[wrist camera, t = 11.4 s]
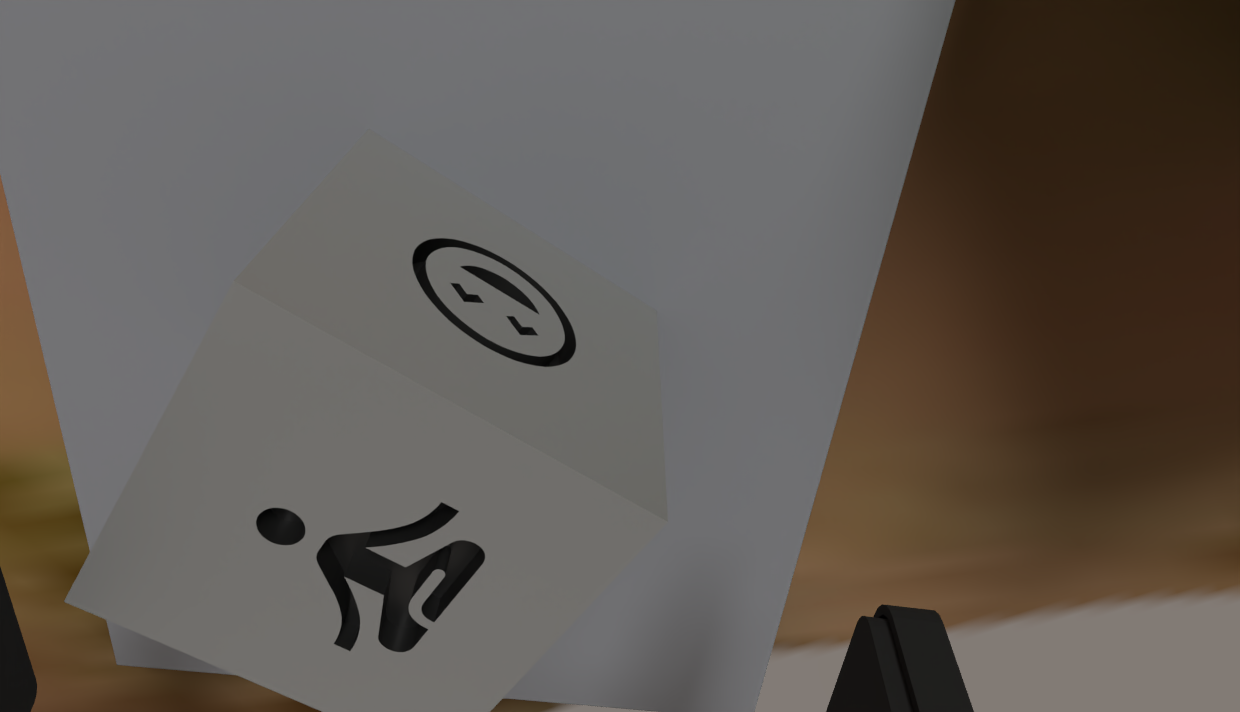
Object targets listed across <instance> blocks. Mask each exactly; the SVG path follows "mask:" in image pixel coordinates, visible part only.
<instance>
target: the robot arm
mask: <svg viewBox="0 0 1240 712" xmlns="http://www.w3.org/2000/svg"><path fill="white" fill-rule="evenodd" d="M36 693H37V683H36V678H35V675H34V672H33V669H32V665H31V662H30V659H29V656H28V653H27V650H26V646H25V643H24V640H23V637H22V634H21V631H20V628H19V624H18V621H17V618H16V615H15V612H14V609H13V605H12V602H11V599H10V596H9V593H8V590H7V587H6V583H5V580H4V577H3V574H2V571H1V568H0V712H31V709H32V707H33V704H34V701H35V698H36ZM826 712H974V711H973V708H972V705H971V702H970V699H969V697H968V693H967V691H966V688H965V685H964V682H963V679H962V676H961V673H960V670H959V667H958V665H957V662H956V659H955V656H954V653H953V650H952V647H951V644H950V641H949V639H948V636H947V633H946V630H945V627H944V624H943V622H942V620H941V618H940V615H939V614H938V613H937V612H936V611H934V610H925V609H917V608H908V607H899V606H891V605H881V606H880V607H878V609H877V611H876V613H875V615H874V617H866V616H862V617H861V618H859V620H858V622H857V625H856V628H855V630H854V633H853V636H852V639H851V642H850V645H849V648H848V651H847V653H846V656H845V659H844V662H843V665H842V668H841V671H840V673H839V676H838V679H837V682H836V685H835V688H834V691H833V694H832V696H831V700H830V702H829V705H828V708H827V711H826Z"/></svg>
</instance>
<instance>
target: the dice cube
mask: <svg viewBox="0 0 1240 712" xmlns="http://www.w3.org/2000/svg"><path fill="white" fill-rule="evenodd" d="M667 522H668V513H667V495H666V476H665V457H664V438H663V420H662V401H661V382H660V364H659V345H658V326H657V311H656V310H654V309H653V308H651V307H650V306H648V305H646V304H645V303H643V302H642V301H640V300H639V299H637V298H635V297H634V296H632V295H631V294H629V293H627V292H626V291H624V290H623V289H621V288H620V287H618V286H616V285H615V284H613V283H612V282H610V281H608V280H607V279H605V278H604V277H602V276H601V275H599V274H597V273H596V272H594V271H593V270H591V269H590V268H588V267H586V266H585V265H583V264H582V263H580V262H578V261H577V260H575V259H574V258H572V257H571V256H569V255H567V254H566V253H564V252H563V251H561V250H559V249H558V248H556V247H555V246H553V245H552V244H550V243H548V242H547V241H545V240H544V239H542V238H541V237H539V236H537V235H536V234H534V233H533V232H531V231H529V230H528V229H526V228H525V227H523V226H522V225H520V224H518V223H517V222H515V221H514V220H512V219H510V218H509V217H507V216H506V215H504V214H503V213H501V212H499V211H498V210H496V209H495V208H493V207H492V206H490V205H488V204H487V203H485V202H484V201H482V200H480V199H479V198H477V197H476V196H474V195H473V194H471V193H469V192H468V191H466V190H465V189H463V188H461V187H460V186H458V185H457V184H455V183H454V182H452V181H450V180H449V179H447V178H446V177H444V176H442V175H441V174H439V173H438V172H436V171H435V170H433V169H431V168H430V167H428V166H427V165H425V164H424V163H422V162H420V161H419V160H417V159H416V158H414V157H412V156H411V155H409V154H408V153H406V152H405V151H403V150H401V149H400V148H398V147H397V146H395V145H393V144H392V143H390V142H389V141H387V140H386V139H384V138H382V137H381V136H379V135H378V134H376V133H375V132H373V131H371V130H370V129H368V130H367V131H366V133H365V134H364V135H363V136H362V137H361V138H360V139H359V140H358V141H357V143H356V144H355V145H354V146H353V147H352V148H351V149H350V150H349V152H348V153H347V154H346V155H345V156H344V157H343V158H342V159H341V161H340V162H339V163H338V164H337V165H336V166H335V167H334V168H333V170H332V171H331V172H330V173H329V174H328V175H327V176H326V177H325V179H324V180H323V181H322V182H321V183H320V184H319V185H318V186H317V188H316V189H315V190H314V191H313V192H312V193H311V194H310V195H309V197H308V198H307V199H306V200H305V201H304V202H303V203H302V204H301V206H300V207H299V208H298V209H297V210H296V211H295V212H294V213H293V215H292V216H291V217H290V218H289V219H288V220H287V221H286V222H285V224H284V225H283V226H282V227H281V228H280V229H279V230H278V231H277V233H276V234H275V235H274V236H273V237H272V238H271V239H270V240H269V242H268V243H267V244H266V245H265V246H264V247H263V248H262V249H261V251H260V252H259V253H258V254H257V255H256V256H255V257H254V258H253V260H252V261H251V262H250V263H249V264H248V265H247V266H246V267H245V269H244V270H243V271H242V272H241V273H240V274H239V275H238V276H237V278H236V279H235V280H234V281H233V283H232V285H231V286H230V288H229V290H228V292H227V294H226V296H225V298H224V300H223V302H222V304H221V305H220V307H219V309H218V311H217V313H216V315H215V317H214V319H213V321H212V322H211V324H210V326H209V328H208V330H207V332H206V334H205V336H204V338H203V339H202V341H201V343H200V345H199V347H198V349H197V351H196V353H195V355H194V357H193V358H192V360H191V362H190V364H189V366H188V368H187V370H186V372H185V374H184V375H183V377H182V379H181V381H180V383H179V385H178V387H177V389H176V391H175V393H174V394H173V396H172V398H171V400H170V402H169V404H168V406H167V408H166V410H165V411H164V413H163V415H162V417H161V419H160V421H159V423H158V425H157V427H156V429H155V430H154V432H153V434H152V436H151V438H150V440H149V442H148V444H147V446H146V447H145V449H144V451H143V453H142V455H141V457H140V459H139V461H138V463H137V464H136V466H135V468H134V470H133V472H132V474H131V476H130V478H129V480H128V482H127V483H126V485H125V487H124V489H123V491H122V493H121V495H120V497H119V499H118V500H117V502H116V504H115V506H114V508H113V510H112V512H111V514H110V516H109V518H108V519H107V521H106V523H105V525H104V527H103V529H102V531H101V533H100V535H99V536H98V538H97V540H96V542H95V544H94V546H93V548H92V550H91V552H90V553H89V555H88V557H87V559H86V561H85V563H84V565H83V567H82V569H81V571H80V572H79V574H78V576H77V578H76V580H75V582H74V584H73V586H72V588H71V589H70V591H69V593H68V595H67V597H66V599H65V601H64V602H66V603H68V604H71V605H73V606H75V607H78V608H80V609H82V610H85V611H87V612H90V613H92V614H94V615H97V616H99V617H101V618H104V619H106V620H108V621H111V622H113V623H115V624H118V625H120V626H122V627H125V628H127V629H129V630H132V631H134V632H136V633H139V634H141V635H143V636H146V637H148V638H151V639H153V640H155V641H158V642H160V643H162V644H165V645H167V646H169V647H172V648H174V649H176V650H179V651H181V652H183V653H186V654H188V655H190V656H193V657H195V658H197V659H200V660H202V661H205V662H207V663H209V664H212V665H214V666H216V667H219V668H221V669H223V670H226V671H228V672H230V673H233V674H235V675H237V676H240V677H242V678H244V679H247V680H249V681H251V682H254V683H256V684H258V685H261V686H263V687H266V688H268V689H270V690H273V691H275V692H277V693H280V694H282V695H284V696H287V697H289V698H291V699H294V700H296V701H298V702H301V703H303V704H305V705H308V706H310V707H312V708H315V709H317V710H320V711H322V712H490V711H491V710H492V709H493V708H494V707H495V706H496V705H497V704H498V703H499V702H500V701H501V700H502V698H503V697H504V696H505V695H506V694H507V693H508V692H509V691H510V690H511V689H512V688H513V687H514V686H515V685H516V684H517V682H518V681H519V680H520V679H521V678H522V677H523V676H524V675H525V674H526V673H527V672H528V671H529V670H530V669H531V668H532V666H533V665H534V664H535V663H536V662H537V661H538V660H539V659H540V658H541V657H542V656H543V655H544V654H545V653H546V652H547V650H548V649H549V648H550V647H551V646H552V645H553V644H554V643H555V642H556V641H557V640H558V639H559V638H560V637H561V636H562V634H563V633H564V632H565V631H566V630H567V629H568V628H569V627H570V626H571V625H572V624H573V623H574V622H575V621H576V620H577V618H578V617H579V616H580V615H581V614H582V613H583V612H584V611H585V610H586V609H587V608H588V607H589V606H590V605H591V604H592V602H593V601H594V600H595V599H596V598H597V597H598V596H599V595H600V594H601V593H602V592H603V591H604V590H605V589H606V588H607V586H608V585H609V584H610V583H611V582H612V581H613V580H614V579H615V578H616V577H617V576H618V575H619V574H620V573H621V572H622V570H623V569H624V568H625V567H626V566H627V565H628V564H629V563H630V562H631V561H632V560H633V559H634V558H635V557H636V556H637V554H638V553H639V552H640V551H641V550H642V549H643V548H644V547H645V546H646V545H647V544H648V543H649V542H650V541H651V540H652V538H653V537H654V536H655V535H656V534H657V533H658V532H659V531H660V530H661V529H662V528H663V527H664V526H665V525H666V524H667Z"/></svg>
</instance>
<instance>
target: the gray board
mask: <svg viewBox="0 0 1240 712" xmlns="http://www.w3.org/2000/svg"><path fill="white" fill-rule="evenodd" d="M954 3H955V0H0V175H1V179H2V183H3V187H4V191H5V196H6V200H7V204H8V208H9V212H10V217H11V221H12V225H13V229H14V233H15V238H16V242H17V246H18V250H19V254H20V259H21V263H22V267H23V271H24V275H25V280H26V284H27V288H28V292H29V297H30V301H31V305H32V309H33V313H34V318H35V322H36V326H37V330H38V334H39V339H40V343H41V347H42V351H43V355H44V360H45V364H46V368H47V372H48V376H49V381H50V385H51V389H52V393H53V397H54V402H55V406H56V410H57V414H58V419H59V423H60V427H61V431H62V435H63V440H64V444H65V448H66V452H67V456H68V461H69V465H70V469H71V473H72V477H73V482H74V486H75V490H76V494H77V498H78V503H79V507H80V511H81V515H82V519H83V524H84V528H85V532H86V536H87V541H88V545H89V549H90V552H91V550H92V548H93V546H94V544H95V542H96V540H97V538H98V536H99V535H100V533H101V531H102V529H103V527H104V525H105V523H106V521H107V519H108V518H109V516H110V514H111V512H112V510H113V508H114V506H115V504H116V502H117V500H118V499H119V497H120V495H121V493H122V491H123V489H124V487H125V485H126V483H127V482H128V480H129V478H130V476H131V474H132V472H133V470H134V468H135V466H136V464H137V463H138V461H139V459H140V457H141V455H142V453H143V451H144V449H145V447H146V446H147V444H148V442H149V440H150V438H151V436H152V434H153V432H154V430H155V429H156V427H157V425H158V423H159V421H160V419H161V417H162V415H163V413H164V411H165V410H166V408H167V406H168V404H169V402H170V400H171V398H172V396H173V394H174V393H175V391H176V389H177V387H178V385H179V383H180V381H181V379H182V377H183V375H184V374H185V372H186V370H187V368H188V366H189V364H190V362H191V360H192V358H193V357H194V355H195V353H196V351H197V349H198V347H199V345H200V343H201V341H202V339H203V338H204V336H205V334H206V332H207V330H208V328H209V326H210V324H211V322H212V321H213V319H214V317H215V315H216V313H217V311H218V309H219V307H220V305H221V304H222V302H223V300H224V298H225V296H226V294H227V292H228V290H229V288H230V286H231V285H232V283H233V281H234V280H235V279H236V278H237V276H238V275H239V274H240V273H241V272H242V271H243V270H244V269H245V267H246V266H247V265H248V264H249V263H250V262H251V261H252V260H253V258H254V257H255V256H256V255H257V254H258V253H259V252H260V251H261V249H262V248H263V247H264V246H265V245H266V244H267V243H268V242H269V240H270V239H271V238H272V237H273V236H274V235H275V234H276V233H277V231H278V230H279V229H280V228H281V227H282V226H283V225H284V224H285V222H286V221H287V220H288V219H289V218H290V217H291V216H292V215H293V213H294V212H295V211H296V210H297V209H298V208H299V207H300V206H301V204H302V203H303V202H304V201H305V200H306V199H307V198H308V197H309V195H310V194H311V193H312V192H313V191H314V190H315V189H316V188H317V186H318V185H319V184H320V183H321V182H322V181H323V180H324V179H325V177H326V176H327V175H328V174H329V173H330V172H331V171H332V170H333V168H334V167H335V166H336V165H337V164H338V163H339V162H340V161H341V159H342V158H343V157H344V156H345V155H346V154H347V153H348V152H349V150H350V149H351V148H352V147H353V146H354V145H355V144H356V143H357V141H358V140H359V139H360V138H361V137H362V136H363V135H364V134H365V133H366V131H367V130H368V129H370V130H371V131H373V132H375V133H376V134H378V135H379V136H381V137H382V138H384V139H386V140H387V141H389V142H390V143H392V144H393V145H395V146H397V147H398V148H400V149H401V150H403V151H405V152H406V153H408V154H409V155H411V156H412V157H414V158H416V159H417V160H419V161H420V162H422V163H424V164H425V165H427V166H428V167H430V168H431V169H433V170H435V171H436V172H438V173H439V174H441V175H442V176H444V177H446V178H447V179H449V180H450V181H452V182H454V183H455V184H457V185H458V186H460V187H461V188H463V189H465V190H466V191H468V192H469V193H471V194H473V195H474V196H476V197H477V198H479V199H480V200H482V201H484V202H485V203H487V204H488V205H490V206H492V207H493V208H495V209H496V210H498V211H499V212H501V213H503V214H504V215H506V216H507V217H509V218H510V219H512V220H514V221H515V222H517V223H518V224H520V225H522V226H523V227H525V228H526V229H528V230H529V231H531V232H533V233H534V234H536V235H537V236H539V237H541V238H542V239H544V240H545V241H547V242H548V243H550V244H552V245H553V246H555V247H556V248H558V249H559V250H561V251H563V252H564V253H566V254H567V255H569V256H571V257H572V258H574V259H575V260H577V261H578V262H580V263H582V264H583V265H585V266H586V267H588V268H590V269H591V270H593V271H594V272H596V273H597V274H599V275H601V276H602V277H604V278H605V279H607V280H608V281H610V282H612V283H613V284H615V285H616V286H618V287H620V288H621V289H623V290H624V291H626V292H627V293H629V294H631V295H632V296H634V297H635V298H637V299H639V300H640V301H642V302H643V303H645V304H646V305H648V306H650V307H651V308H653V309H654V310H656V311H657V326H658V345H659V364H660V382H661V401H662V420H663V438H664V457H665V476H666V495H667V513H668V522H667V524H666V525H665V526H664V527H663V528H662V529H661V530H660V531H659V532H658V533H657V534H656V535H655V536H654V537H653V538H652V540H651V541H650V542H649V543H648V544H647V545H646V546H645V547H644V548H643V549H642V550H641V551H640V552H639V553H638V554H637V556H636V557H635V558H634V559H633V560H632V561H631V562H630V563H629V564H628V565H627V566H626V567H625V568H624V569H623V570H622V572H621V573H620V574H619V575H618V576H617V577H616V578H615V579H614V580H613V581H612V582H611V583H610V584H609V585H608V586H607V588H606V589H605V590H604V591H603V592H602V593H601V594H600V595H599V596H598V597H597V598H596V599H595V600H594V601H593V602H592V604H591V605H590V606H589V607H588V608H587V609H586V610H585V611H584V612H583V613H582V614H581V615H580V616H579V617H578V618H577V620H576V621H575V622H574V623H573V624H572V625H571V626H570V627H569V628H568V629H567V630H566V631H565V632H564V633H563V634H562V636H561V637H560V638H559V639H558V640H557V641H556V642H555V643H554V644H553V645H552V646H551V647H550V648H549V649H548V650H547V652H546V653H545V654H544V655H543V656H542V657H541V658H540V659H539V660H538V661H537V662H536V663H535V664H534V665H533V666H532V668H531V669H530V670H529V671H528V672H527V673H526V674H525V675H524V676H523V677H522V678H521V679H520V680H519V681H518V682H517V684H516V685H515V686H514V687H513V688H512V689H511V690H510V691H509V692H508V693H507V694H506V695H505V696H504V697H503V698H507V699H519V700H530V701H542V702H553V703H565V704H576V705H588V706H589V705H590V706H600V707H612V708H624V709H634V710H647V711H658V712H755V708H756V704H757V701H758V697H759V694H760V690H761V687H762V683H763V679H764V676H765V673H766V669H767V665H768V662H769V658H770V655H771V651H772V648H773V644H774V641H775V637H776V634H777V630H778V627H779V623H780V619H781V616H782V612H783V609H784V605H785V602H786V598H787V595H788V591H789V588H790V584H791V580H792V577H793V573H794V570H795V566H796V563H797V559H798V556H799V552H800V549H801V545H802V542H803V538H804V534H805V531H806V527H807V524H808V520H809V517H810V513H811V510H812V506H813V503H814V499H815V495H816V492H817V488H818V485H819V481H820V478H821V474H822V471H823V467H824V464H825V460H826V457H827V453H828V449H829V446H830V442H831V439H832V435H833V432H834V428H835V425H836V421H837V418H838V414H839V410H840V407H841V403H842V400H843V396H844V393H845V389H846V386H847V382H848V379H849V375H850V371H851V368H852V364H853V361H854V357H855V354H856V350H857V347H858V343H859V340H860V336H861V333H862V329H863V325H864V322H865V318H866V315H867V311H868V308H869V304H870V301H871V297H872V294H873V290H874V286H875V283H876V279H877V276H878V272H879V269H880V265H881V262H882V258H883V255H884V251H885V248H886V244H887V240H888V237H889V233H890V230H891V226H892V223H893V219H894V216H895V212H896V209H897V205H898V201H899V198H900V194H901V191H902V187H903V184H904V180H905V177H906V173H907V170H908V166H909V163H910V159H911V155H912V152H913V148H914V145H915V141H916V138H917V134H918V131H919V127H920V124H921V120H922V116H923V113H924V109H925V106H926V102H927V99H928V95H929V92H930V88H931V85H932V81H933V78H934V74H935V70H936V67H937V63H938V60H939V56H940V53H941V49H942V46H943V42H944V39H945V35H946V31H947V28H948V24H949V21H950V17H951V14H952V10H953V7H954ZM107 625H108V629H109V633H110V637H111V641H112V646H113V650H114V654H115V658H116V663H117V665H125V666H136V667H148V668H160V669H171V670H183V671H194V672H206V673H217V674H229V675H235V674H233V673H230V672H228V671H226V670H223V669H221V668H219V667H216V666H214V665H212V664H209V663H207V662H205V661H202V660H200V659H197V658H195V657H193V656H190V655H188V654H186V653H183V652H181V651H179V650H176V649H174V648H172V647H169V646H167V645H165V644H162V643H160V642H158V641H155V640H153V639H151V638H148V637H146V636H143V635H141V634H139V633H136V632H134V631H132V630H129V629H127V628H125V627H122V626H120V625H118V624H115V623H113V622H111V621H108V620H107Z"/></svg>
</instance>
